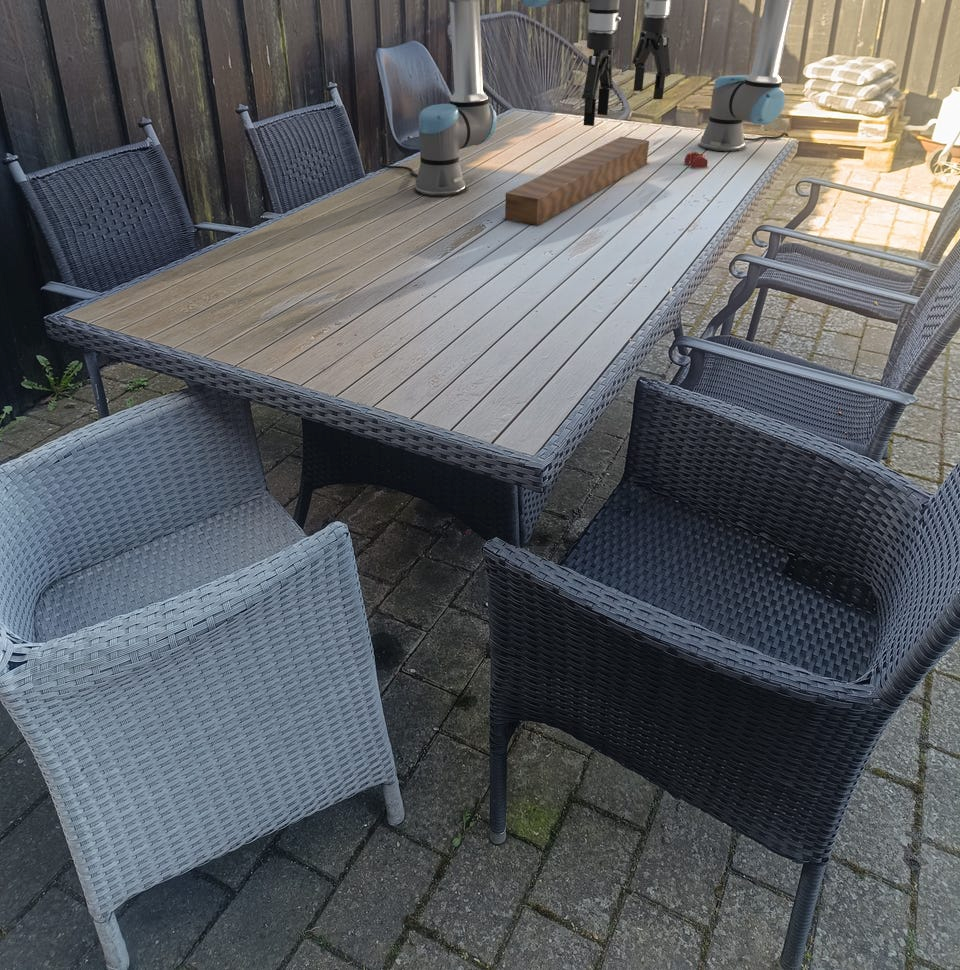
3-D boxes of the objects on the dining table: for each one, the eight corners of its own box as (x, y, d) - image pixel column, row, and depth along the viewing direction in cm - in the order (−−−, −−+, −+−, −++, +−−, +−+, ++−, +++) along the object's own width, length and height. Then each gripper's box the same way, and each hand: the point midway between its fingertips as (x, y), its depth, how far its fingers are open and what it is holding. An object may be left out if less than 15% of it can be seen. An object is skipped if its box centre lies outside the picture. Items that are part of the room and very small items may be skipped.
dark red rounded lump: (699, 148, 281) (710, 154, 275) (697, 161, 284) (708, 168, 277) (683, 150, 280) (694, 156, 274) (682, 163, 283) (692, 170, 276)
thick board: (536, 225, 232) (537, 198, 227) (505, 219, 236) (505, 192, 232) (646, 163, 283) (649, 140, 278) (619, 159, 287) (621, 136, 283)
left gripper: (603, 39, 204) (596, 131, 217) (628, 25, 223) (620, 111, 235) (574, 37, 207) (568, 128, 219) (601, 24, 225) (594, 109, 238)
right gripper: (626, 11, 255) (619, 87, 267) (664, 22, 235) (655, 103, 248) (648, 10, 257) (640, 86, 269) (688, 21, 237) (678, 102, 250)
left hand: (595, 120), depth 227 cm, fingers open, 13 cm apart
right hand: (647, 94), depth 258 cm, fingers open, 13 cm apart
